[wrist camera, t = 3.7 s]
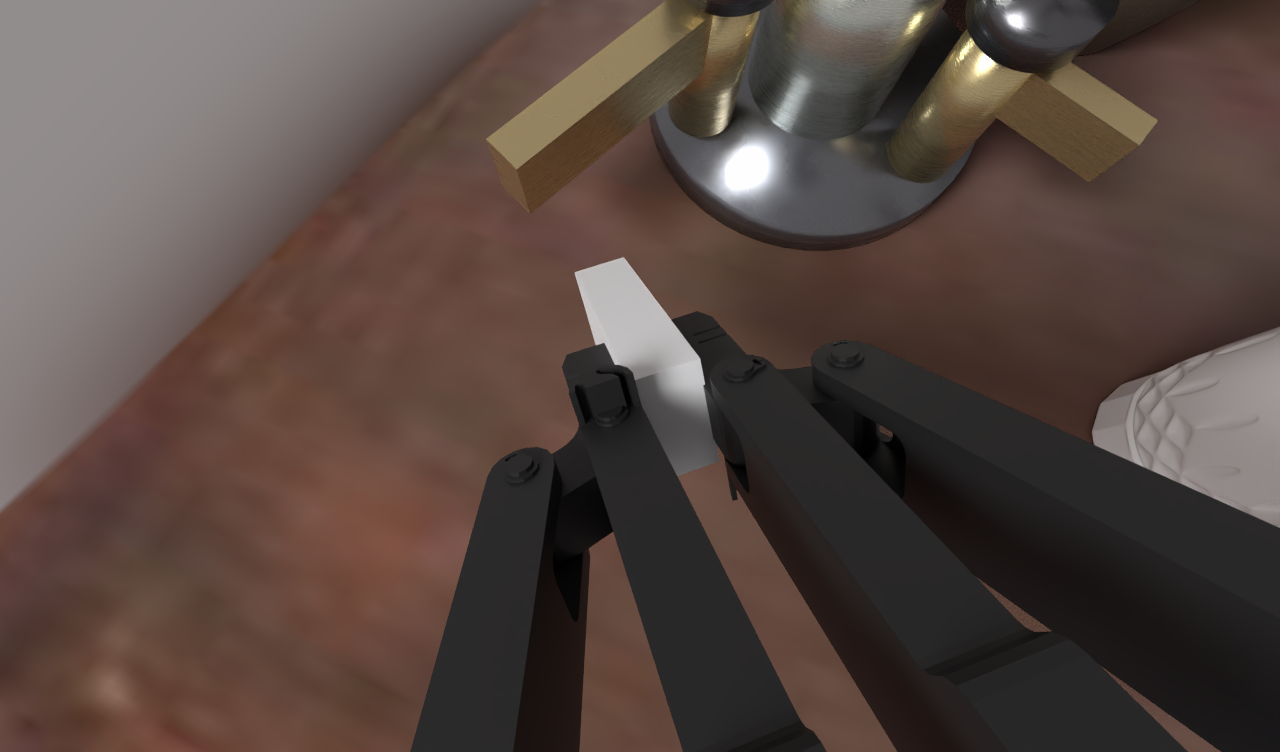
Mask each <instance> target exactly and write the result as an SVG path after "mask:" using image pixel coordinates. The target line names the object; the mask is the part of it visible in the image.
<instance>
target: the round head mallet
mask: <svg viewBox="0 0 1280 752" xmlns="http://www.w3.org/2000/svg"><path fill="white" fill-rule="evenodd" d="M773 1H774V0H666V1H665V2H664V3H662V4H661V5H660V6H658V7H657V8H656V9H655V10H653V11H652V12H651V13H649V14H648V15H647V16H645V17H644V18H643V19H642V20H640V21H639V22H638V23H636V24H635V25H634V26H632V27H631V28H630V29H629V30H627V31H626V32H625V33H623V34H622V35H621V36H619V37H618V38H617V39H616V40H614V41H613V42H612V43H610V44H609V45H608V46H606V47H605V48H604V49H603V50H601V51H600V52H599V53H597V54H596V55H595V56H593V57H592V58H591V59H590V60H588V61H587V62H586V63H584V64H583V65H582V66H580V67H579V68H578V69H577V70H575V71H574V72H573V73H571V74H570V75H569V76H567V77H566V78H565V79H564V80H562V81H561V82H560V83H558V84H557V85H556V86H554V87H553V88H552V89H551V90H549V91H548V92H547V93H545V94H544V95H543V96H542V97H540V98H539V99H538V100H536V101H535V102H534V103H532V104H531V105H530V106H529V107H527V108H526V109H525V110H523V111H522V112H521V113H519V114H518V115H517V116H516V117H514V118H513V119H512V120H510V121H509V122H508V123H506V124H505V125H504V126H503V127H501V128H500V129H499V130H497V131H496V132H495V133H493V134H492V135H491V136H490V137H488V138H487V139H486V140H487V143H488V146H489V149H490V152H491V154H492V157H493V160H494V163H495V166H496V168H497V171H498V174H499V177H500V180H501V183H502V185H503V187H504V188H505V189H506V190H507V191H508V192H509V193H510V194H511V195H512V196H513V197H514V198H515V199H516V200H517V201H518V202H519V203H520V204H521V205H522V206H523V207H524V208H525V209H526V210H527V211H528V212H529V213H530V214H531V213H532V212H533V211H534V210H536V209H537V208H538V207H539V206H540V205H542V204H543V203H544V202H545V201H547V200H548V199H549V198H550V197H551V196H553V195H554V194H555V193H556V192H558V191H559V190H560V189H561V188H563V187H564V186H565V185H566V184H567V183H569V182H570V181H571V180H572V179H574V178H575V177H576V176H577V175H578V174H580V173H581V172H582V171H583V170H585V169H586V168H587V167H588V166H590V165H591V164H592V163H593V162H594V161H596V160H597V159H598V158H599V157H601V156H602V155H603V154H604V153H605V152H607V151H608V150H609V149H610V148H612V147H613V146H614V145H615V144H617V143H618V142H619V141H620V140H621V139H623V138H624V137H625V136H626V135H628V134H629V133H630V132H631V131H632V130H634V129H635V128H636V127H637V126H639V125H640V124H641V123H642V122H644V121H645V120H646V119H647V118H648V117H650V116H651V115H652V114H653V113H655V112H656V111H657V110H658V109H659V108H661V107H662V106H663V105H664V104H666V103H667V102H668V101H669V103H668V113H669V116H670V119H671V121H672V123H673V124H674V125H675V126H676V127H677V128H678V129H679V130H680V131H682V132H683V133H685V134H687V135H690V136H694V137H710V136H713V135H716V134H718V133H720V132H721V131H723V130H724V129H725V128H726V127H727V126H728V124H729V122H730V121H731V118H732V114H733V111H734V107H735V103H736V99H737V96H738V92H739V88H740V84H741V81H742V77H743V73H744V69H745V66H746V62H747V58H748V54H749V51H750V47H751V43H752V39H753V36H754V32H755V28H756V24H757V21H758V17H759V13H760V10H762V9H764V8H765V7H767V6H768V5H770V4H771V3H772V2H773Z"/></svg>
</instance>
